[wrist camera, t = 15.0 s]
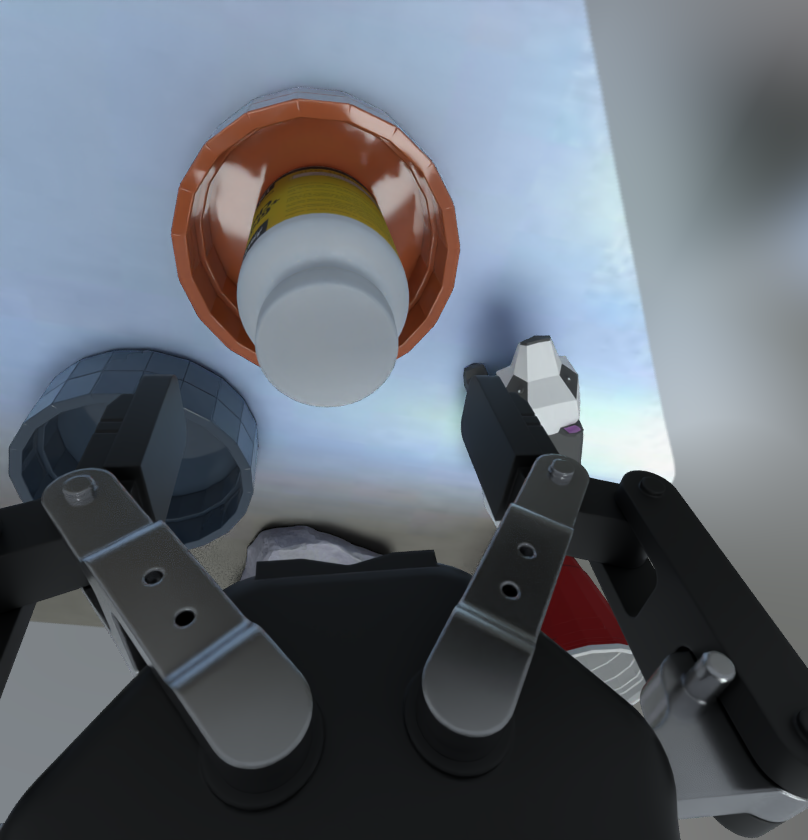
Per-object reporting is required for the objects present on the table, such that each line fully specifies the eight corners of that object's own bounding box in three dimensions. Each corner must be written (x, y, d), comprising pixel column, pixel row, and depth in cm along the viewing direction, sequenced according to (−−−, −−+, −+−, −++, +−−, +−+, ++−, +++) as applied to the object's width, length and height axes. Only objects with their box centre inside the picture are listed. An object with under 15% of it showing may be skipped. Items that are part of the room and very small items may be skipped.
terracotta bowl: (208, 335, 28) (195, 379, 25) (171, 71, 21) (144, 82, 18) (422, 339, 31) (438, 381, 27) (456, 102, 23) (483, 117, 20)
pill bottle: (283, 133, 23) (270, 209, 14) (407, 204, 26) (464, 307, 16) (234, 261, 26) (196, 391, 17) (349, 312, 29) (369, 448, 20)
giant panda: (541, 456, 38) (599, 561, 31) (469, 472, 38) (509, 582, 31) (543, 271, 29) (625, 357, 22) (448, 292, 29) (498, 386, 22)
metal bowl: (75, 505, 34) (50, 560, 31) (11, 345, 27) (-33, 393, 24) (263, 498, 37) (259, 549, 33) (250, 348, 29) (243, 393, 26)
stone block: (258, 502, 39) (228, 599, 43) (259, 543, 35) (226, 647, 39) (399, 522, 44) (362, 608, 47) (415, 561, 40) (372, 652, 43)
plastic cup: (497, 514, 42) (552, 657, 32) (611, 519, 45) (692, 653, 35) (458, 593, 48) (495, 732, 39) (560, 594, 51) (618, 724, 41)
